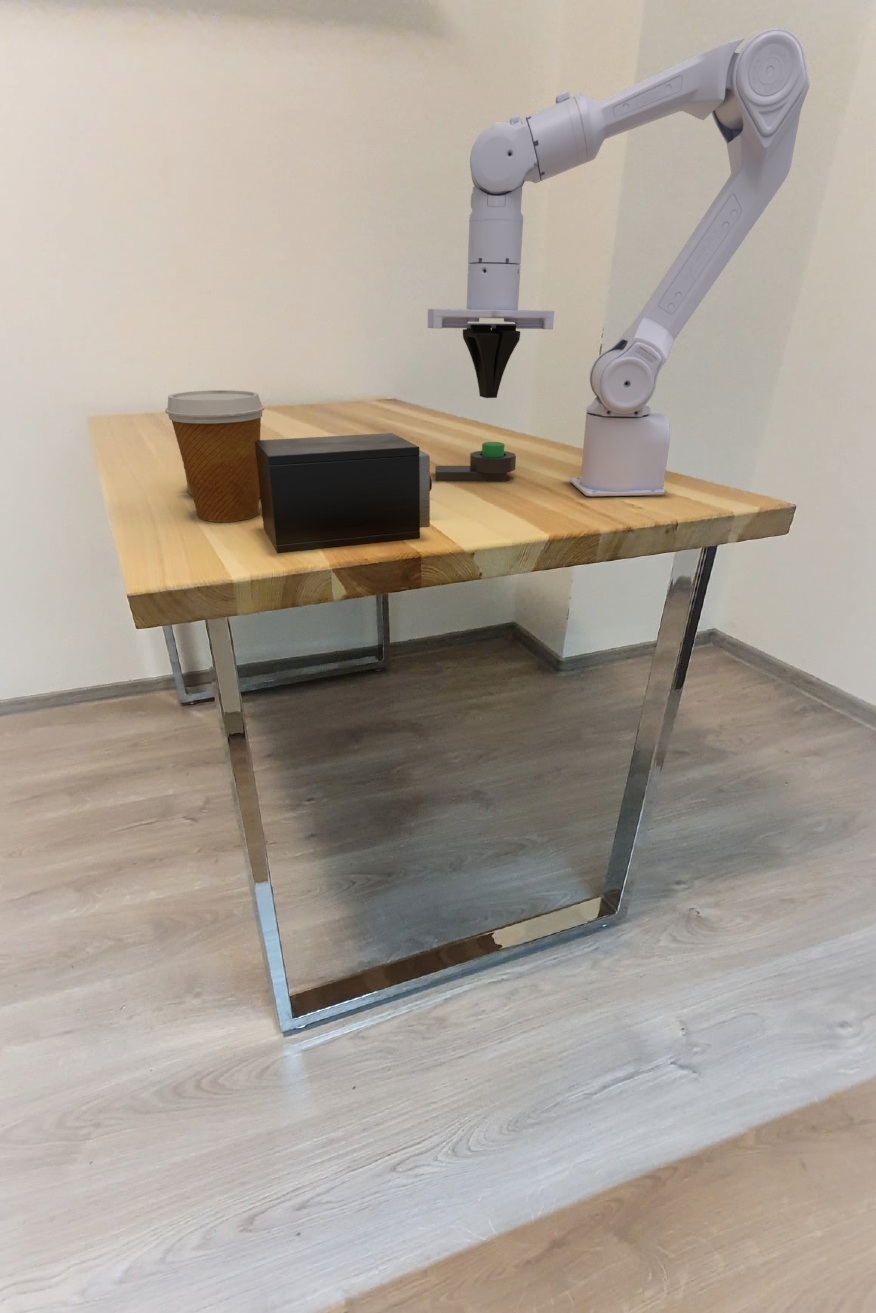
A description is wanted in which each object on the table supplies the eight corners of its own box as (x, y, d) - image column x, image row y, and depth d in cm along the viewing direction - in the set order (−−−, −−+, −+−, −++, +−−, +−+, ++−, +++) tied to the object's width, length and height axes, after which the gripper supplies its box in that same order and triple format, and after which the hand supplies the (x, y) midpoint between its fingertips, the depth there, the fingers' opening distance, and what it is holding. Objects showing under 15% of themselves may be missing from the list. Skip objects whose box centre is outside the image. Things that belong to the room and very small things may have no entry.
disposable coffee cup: (191, 531, 71) (172, 402, 66) (174, 509, 79) (156, 392, 74) (285, 519, 75) (274, 397, 70) (261, 499, 83) (249, 388, 78)
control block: (511, 473, 96) (513, 450, 95) (516, 483, 91) (517, 458, 90) (435, 473, 96) (435, 450, 95) (435, 483, 91) (435, 458, 90)
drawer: (418, 508, 76) (417, 441, 73) (441, 525, 70) (442, 454, 67) (287, 520, 72) (280, 449, 69) (300, 539, 66) (294, 463, 63)
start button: (502, 455, 94) (503, 441, 93) (504, 460, 91) (505, 445, 90) (481, 455, 94) (481, 441, 93) (482, 460, 91) (482, 445, 90)
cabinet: (394, 517, 76) (392, 432, 72) (420, 539, 69) (419, 446, 66) (263, 529, 72) (254, 440, 68) (277, 553, 65) (267, 456, 61)
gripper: (444, 261, 73) (441, 402, 79) (571, 265, 78) (559, 399, 84) (421, 263, 79) (420, 395, 85) (541, 268, 84) (532, 392, 90)
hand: (488, 397), depth 85 cm, fingers closed
